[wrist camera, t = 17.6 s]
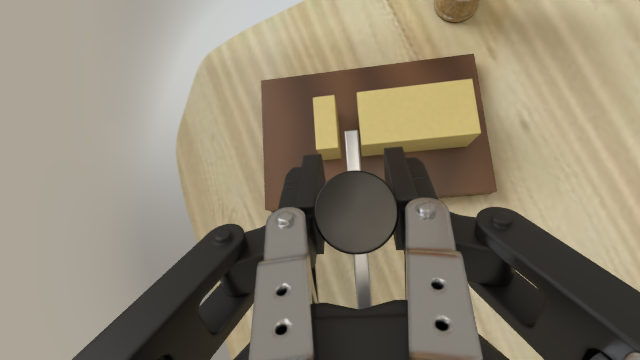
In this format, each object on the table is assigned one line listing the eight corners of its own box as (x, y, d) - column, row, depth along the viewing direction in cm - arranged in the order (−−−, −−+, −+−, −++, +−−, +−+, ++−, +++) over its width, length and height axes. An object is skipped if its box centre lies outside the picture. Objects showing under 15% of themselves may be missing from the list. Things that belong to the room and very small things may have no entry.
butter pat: (321, 160, 33) (316, 149, 29) (318, 113, 34) (312, 97, 30) (341, 158, 33) (338, 147, 29) (337, 111, 34) (334, 94, 30)
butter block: (361, 156, 33) (361, 145, 29) (357, 109, 34) (356, 91, 30) (467, 146, 32) (481, 133, 28) (459, 97, 33) (472, 78, 29)
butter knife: (388, 295, 19) (413, 351, 9) (342, 296, 19) (320, 353, 10) (376, 159, 21) (386, 85, 11) (334, 163, 21) (307, 94, 11)
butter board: (269, 211, 35) (265, 209, 33) (265, 86, 37) (261, 80, 36) (491, 193, 32) (497, 191, 31) (469, 61, 35) (473, 53, 33)
